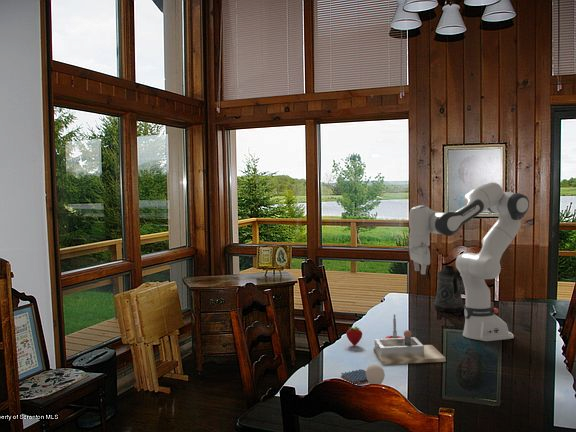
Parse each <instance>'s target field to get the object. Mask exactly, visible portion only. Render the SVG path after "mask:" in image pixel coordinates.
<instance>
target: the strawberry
mask: <svg viewBox="0 0 576 432" xmlns="http://www.w3.org/2000/svg"><path fill="white" fill-rule="evenodd" d="M345 334H346V337H347V339H348V341H349V342H350V343H351V344H352V345H353V346H356V345H357V344H358V343H359V342H360V341H361V339H362V337H363V332H362V330H361V328H359V327H358V326H354V327H349V328H348V330H346V333H345Z"/></svg>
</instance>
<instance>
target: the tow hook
mask: <svg viewBox="0 0 576 432" xmlns="http://www.w3.org/2000/svg"><path fill="white" fill-rule="evenodd" d="M396 319H397V318H396V314H393V318H392V321H393V322H392V323H393V327H392V328H393V330H392V335H387V336H386V337H385V338H404V337H403V336H400V335H398V331H397V320H396ZM385 338H384V339H385Z"/></svg>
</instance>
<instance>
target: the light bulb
mask: <svg viewBox="0 0 576 432" xmlns="http://www.w3.org/2000/svg"><path fill="white" fill-rule="evenodd" d="M365 371H366V378H367V380H368V382H367V383H369V385H370V384H381V385H382V383H383V382H384V379H385V378H386V377H385V376H386V374H385V370H384V368H383V367H382V366H381V365H379V364H370V365H369V366H368V367H367V368H366V370H365Z"/></svg>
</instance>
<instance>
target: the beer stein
mask: <svg viewBox="0 0 576 432" xmlns="http://www.w3.org/2000/svg"><path fill="white" fill-rule="evenodd" d="M436 275H437V278H438V280H437V281H438V282H437V287H436V288H437V289H436V296H435V299H434V301H433V305H434V309H435V310H436V311H439V312H441V313H443V312H444V313H457V312H462V311H463V309H464V307H465V304H464V301H463V299H462V294H463V293H464V292H465V287H464V283H463V280H462V277H461V274H460V272H459V270H458V269H455V268H454V266H453V265H444V267H443V268H442V269H441V270H439V271H438V273H437V274H436Z"/></svg>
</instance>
